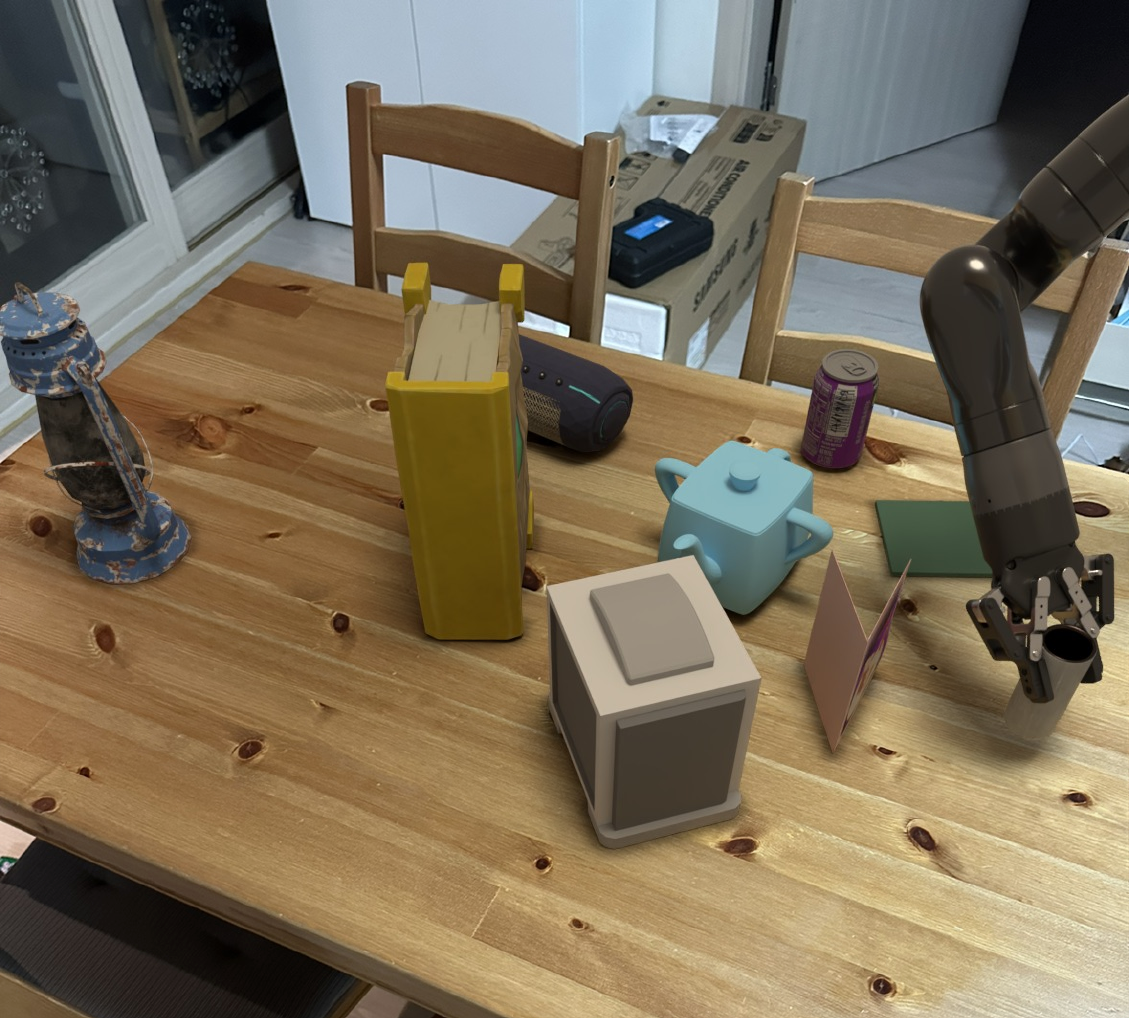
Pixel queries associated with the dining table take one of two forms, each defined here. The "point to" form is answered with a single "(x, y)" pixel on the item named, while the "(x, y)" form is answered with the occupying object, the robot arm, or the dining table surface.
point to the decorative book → (464, 456)
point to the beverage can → (840, 408)
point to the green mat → (931, 538)
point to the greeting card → (843, 651)
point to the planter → (1052, 681)
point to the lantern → (89, 442)
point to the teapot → (740, 520)
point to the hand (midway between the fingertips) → (1066, 690)
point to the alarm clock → (650, 698)
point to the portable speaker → (572, 397)
